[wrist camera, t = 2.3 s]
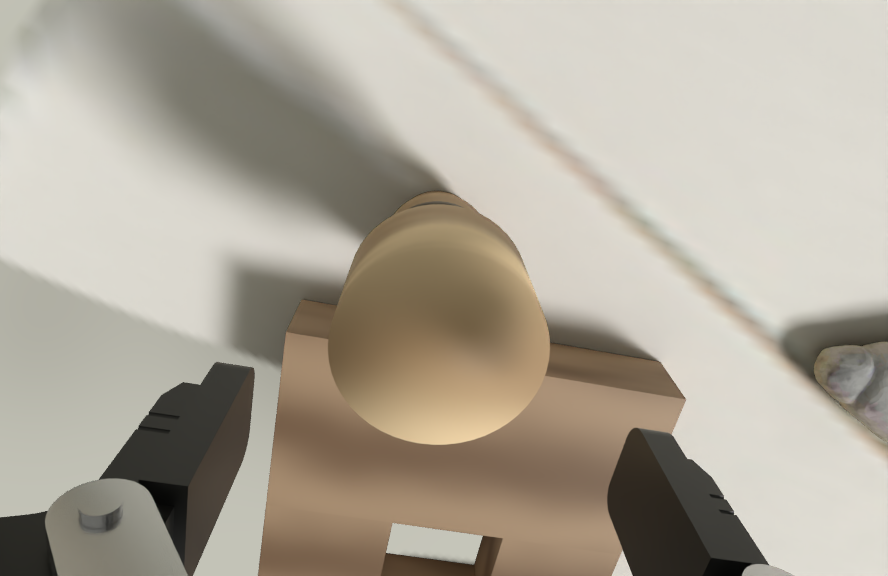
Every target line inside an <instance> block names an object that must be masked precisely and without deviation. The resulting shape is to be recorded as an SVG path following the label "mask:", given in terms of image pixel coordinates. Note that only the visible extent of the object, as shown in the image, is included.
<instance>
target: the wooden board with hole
mask: <svg viewBox="0 0 888 576" xmlns="http://www.w3.org/2000/svg"><path fill="white" fill-rule="evenodd" d="M336 308H337V305H331V304H325V303H320V302H314V301H308V300H301V302H300V304H299V306H298V308H297V310H296V312H295V314H294V316H293V318H292V320H291V323H290V325H289V327H288V329H287V331H286V336H285V344H284V353H283V362H282V371H281V379H280V388H279V397H278V406H277V414H276V423H275V432H274V442H273V449H272V459H271V467H270V476H269V485H268V493H267V502H266V510H265V520H264V528H263V537H262V545H261V554H260V555H261V556H260V563H259V572H258V576H611V575H612V573H613V571H614V568H615V566H616V564H617V561H618V559H619V557H620V554H621V552H622V550H623V549H622V546H621V544H620V541H619V539H618V536H617V534H616V531H615V528H614V526H613V523H612V521H611V518H610V515H609V512H608V506H607V494H608V488H609V484H610V481H611V478H612V476H613V473H614V470H615V468H616V465H617V462H618V459H619V457H620V454H621V451H622V449H623V446H624V443H625V441H626V438H627V436H628V434H629V432H630V431H631V430H632V429H633V428H642V429H648V430H655V431H661V432H668V433H670V434H672V432H673V429H674V427H675V425H676V422H677V420H678V418H679V415H680V413H681V411H682V408H683V406H684V403H685V401H686V399H685V397H684V396H683V394H682V393H681V391H680V390H679V389H678V387H677V386H676V384H675V383H674V381H673V380H672V378H671V377H670V375H669V374H668V373H667V371H666V370H665V368H664V367H663V365H662V364H661V362H658V361H652V360H647V359H641V358H635V357H629V356H624V355H618V354H612V353H606V352H601V351H595V350H589V349H583V348H578V347H572V346H566V345H561V344H555V343H550V355H549V362H548V367H547V371H546V374H545V377H544V379H543V382H542V384H541V386H540V388H539V390H538V391H537V393H536V395H535V396H534V398H533V399H532V400H531V402H530V403H529V404H528V406H527V407H526V408H525V409H524V410H523V411H522V412H521V413H520V414H519V415H518V416H516V417H515V418H514V419H513V420H512V421H510V422H509V423H508V424H506V425H504V426H503V427H501V428H500V429H498V430H496V431H494V432H492V433H490V434H488V435H486V436H483V437H480V438H477V439H474V440H471V441H466V442H462V443H456V444H447V445H430V444H420V443H415V442H410V441H405V440H402V439H399V438H396V437H393V436H391V435H389V434H387V433H384V432H382V431H380V430H379V429H377V428H375V427H374V426H372V425H370V424H369V423H368V422H366V421H365V420H364V419H363V418H361V417H360V416H359V415H358V414H357V413H356V412H355V411H354V410H353V409H352V408H351V407H350V406H349V404H348V403H347V402H346V400H345V399H344V398H343V396H342V395H341V393H340V391H339V389H338V388H337V386H336V383H335V381H334V378H333V376H332V373H331V369H330V364H329V358H328V338H329V332H330V327H331V323H332V320H333V317H334V314H335V311H336ZM392 523H398V524H405V525H412V526H419V527H427V528H433V529H440V530H447V531H456V532H461V533H469V534H476V535H483V537H482V541H481V544H480V547H479V551H478V554H477V557H476V561H475V564H474V565H470V564H463V563H455V562H448V561H441V560H433V559H426V558H419V557H411V556H404V555H397V554H389V553H386V550H387V545H388V541H389V536H390V532H391V527H392Z"/></svg>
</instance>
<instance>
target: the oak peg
mask: <svg viewBox="0 0 888 576" xmlns="http://www.w3.org/2000/svg"><path fill="white" fill-rule="evenodd" d="M549 355H550V338H549V331H548V326H547V322H546V319H545V316H544V314H543V311H542V309H541V306H540V304H539V301H538V298H537V296H536V293H535V291H534V288H533V286H532V283H531V281H530V278H529V276H528V273H527V271H526V268H525V266H524V263H523V261H522V258H521V255H520V253H519V251H518V250H517V248H516V246H515V244H514V243H513V241H512V240H511V239H510V238H509V236H508V235H507V234H506V233H505V232H504V231H503V230H502V229H501V228H500V227H499V226H498V225H496V224H495V223H494V222H492V221H491V220H490V219H488V218H486V217H485V216H483V215H481V214H479V213H478V212H477V210H476V209H475V208H474V207H472V206H471V205H470V204H469V203H467V202H466V201H464V200H462V199H461V198H459V197H457V196H456V195H453V194H451V193H447V192H442V191H431V192H426V193H422V194H420V195H417V196H415V197H414V198H412V199H411V200H409V201H407V202H406V203H405V204H403V205H402V206H401V207H400V208H399V209H398V210H397V211H396V212H395V213H394V215H393V216H391V217H389V218H388V219H386V220H385V221H383V222H382V223H381V224H379V225H378V226H377V227H375V228H374V229H373V230H372V231H371V232H370V233H369V234H368V236H367V237H366V238H365V240H364V241H363V242H362V243H361V245H360V247H359V249H358V250H357V252H356V254H355V256H354V259H353V262H352V264H351V267H350V270H349V273H348V276H347V279H346V282H345V285H344V288H343V291H342V293H341V296H340V299H339V302H338V305H337V308H336V311H335V314H334V317H333V320H332V323H331V327H330V332H329V338H328V358H329V364H330V369H331V373H332V376H333V378H334V381H335V383H336V386H337V388H338V389H339V391H340V393H341V395H342V396H343V398H344V399H345V400H346V402H347V403H348V404H349V406H350V407H351V408H352V409H353V410H354V411H355V412H356V413H357V414H358V415H359V416H360V417H361V418H363V419H364V420H365V421H366V422H368V423H369V424H370V425H372V426H374V427H375V428H377V429H379V430H380V431H382V432H384V433H387V434H389V435H391V436H393V437H396V438H399V439H402V440H405V441H410V442H415V443H420V444H430V445H447V444H456V443H462V442H466V441H471V440H474V439H477V438H480V437H483V436H486V435H488V434H490V433H492V432H494V431H496V430H498V429H500V428H501V427H503V426H504V425H506V424H508V423H509V422H510V421H512V420H513V419H514V418H515V417H516V416H518V415H519V414H520V413H521V412H522V411H523V410H524V409H525V408H526V407H527V406H528V404H529V403H530V402H531V400H532V399H533V398H534V396H535V395H536V393H537V391H538V390H539V388H540V386H541V384H542V382H543V379H544V377H545V374H546V371H547V367H548V362H549Z"/></svg>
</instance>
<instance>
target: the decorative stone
mask: <svg viewBox="0 0 888 576" xmlns="http://www.w3.org/2000/svg"><path fill="white" fill-rule="evenodd" d="M814 374H815V377H816V380H817V381H818V383H819V384H820V385H821V386H822V387H823V388H824V389H825V390H826V391H827V392H828V393H829V394H830V395H831V396H832V397H833V398H834V399H836V400H838V401H839V402H840V404H841V406H842V407H843V408H844V409H846V410H847V411H848V412H849V413H850V414H851V415H853V416H854V417H855V418H856V419H858V420H859V421H860V422H861V423H862V424H864V425H865V426H866V427H867V428H868V429H869V430H870V431H871V432H872V433H874V434H875V435H876V436H878V437H879V438H881V439H882V440H884V441H886V442H887V443H888V342H877V343H871V344H867V345H864V346H858V345H843V346H834V347H829V348H825V349H823V350H822V351H821V353H820V354H819V355H818V357H817V359H816V362H815V364H814Z"/></svg>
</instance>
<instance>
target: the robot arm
mask: <svg viewBox="0 0 888 576" xmlns="http://www.w3.org/2000/svg"><path fill="white" fill-rule="evenodd" d="M254 374H255V373H254V368H252V367H245V366H239V365H233V364H226V363H220V362H216V363H215V364H214V365H213V367H212V368H211V369H210V371H209V372H208V374H207V375H206V377H205V379H204V380H203V382H202V383H201V385H198V384H191V383H184V382H183V383H181V384H179V385H178V386H176V387H174V388H173V389H171V390H169V391H168V392H166V393H164V394H163V395H161V397H160V398H159V399H158V401H157V402H156V403H155V405H154V406H153V407H152V409H151V410H150V411H149V415H147V416H146V417H145V418H144V419H143V421H142V422H141V424H140V425H139V428H138V430H137V429H136V430H135V431H134V433H133V434H132V436H131V437H130V438H129V440H128V441H127V442H126V444H125V445H124V446H123V448H122V449H121V450H120V452H119V453H118V454H117V456H116V457H115V458H114V460H113V461H112V462H111V464H110V465H109V466H108V468H107V469H106V471H105V472H104V473H103V475H102V476H101V477H100V479H99V480H95V481H91V482H87V483H85V484H81V485H79V486H77V487H74V488H73V489H71V490H69V491H67V492H66V493H64V494H63V495H62V496H60V497H59V498H58V499H57V500H56V501H55V502H54V503H53V504H52V506H51V507H50V508H49V510H48V511H45V512H41V513H36V514H29V515H20V516H10V517H1V518H0V576H193V574H194V572H195V569H196V567H197V565H198V562H199V560H200V558H201V556H202V553H203V551H204V548H205V546H206V544H207V542H208V539H209V537H210V535H211V532H212V530H213V528H214V526H215V523H216V521H217V519H218V516H219V514H220V512H221V509H222V507H223V505H224V502H225V500H226V498H227V496H228V493H229V491H230V489H231V487H232V484H233V482H234V479H235V477H236V475H237V472H238V470H239V468H240V466H241V463H242V461H243V458H244V455H245V451H246V447H247V442H248V438H249V431H250V421H251V410H252V399H253V388H254ZM607 506H608V512H609V515H610V518H611V521H612V523H613V526H614V528H615V531H616V534H617V536H618V539H619V541H620V544H621V546H622V549H623V552H624V554H625V557H626V559H627V562H628V565H629V567H630V570H631V572H632V575H633V576H793V575H792V574H790V573H788V572H786V571H784V570H782V569H779V568H777V567H773V566H770V565H769V564H768V562H767V561H766V559H765V558H764V556H763V555H762V553H761V552H760V550H759V549H758V547H757V546H756V544H755V543H754V541H753V540H752V538H751V537H750V535H749V533H748V532H747V530H746V529H745V527H744V526H743V524H742V523H741V521H740V520H739V518H738V517H737V515H734V511H733V509H732V508H731V506H730V505H729V503H728V501H727V500H724V495H723V494H722V492H721V491H720V489H719V488H718V486H717V485H716V483H715V482H714V480H713V479H712V477H711V476H710V475H709V474H707V473H706V472H705V471H704V470H703V469H702V468H701V467H700V466H698V465H697V464H696V463H695V462H694V461H693V460H691V459H687V458H686V456H685V455H684V453H683V452H682V450H681V448H680V447H679V445H678V444H677V442H676V440H675V439H674V437H673V436H672V435H671V434H670V433H668V432H661V431H655V430H648V429H642V428H633V429H632V430H631V431H630V432H629V434H628V436H627V438H626V441H625V443H624V446H623V449H622V451H621V454H620V457H619V459H618V462H617V465H616V468H615V470H614V473H613V476H612V478H611V481H610V484H609V488H608V494H607Z"/></svg>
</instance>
